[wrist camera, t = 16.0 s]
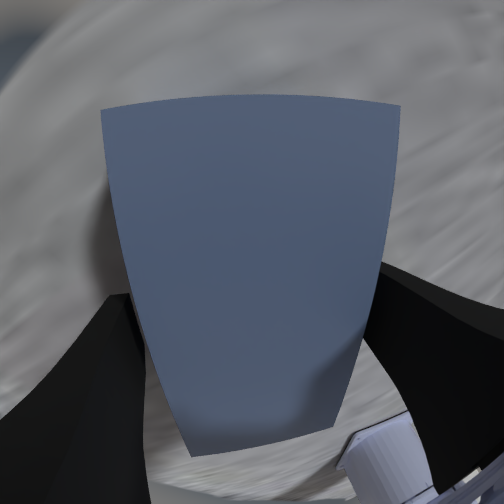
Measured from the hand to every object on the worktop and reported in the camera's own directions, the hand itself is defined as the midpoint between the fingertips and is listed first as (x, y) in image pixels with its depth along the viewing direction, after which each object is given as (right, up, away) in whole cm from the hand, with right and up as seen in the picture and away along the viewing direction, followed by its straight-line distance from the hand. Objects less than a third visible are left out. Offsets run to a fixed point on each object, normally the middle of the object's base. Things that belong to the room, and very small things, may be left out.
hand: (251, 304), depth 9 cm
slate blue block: (-1, +2, +3) cm, 4 cm away
